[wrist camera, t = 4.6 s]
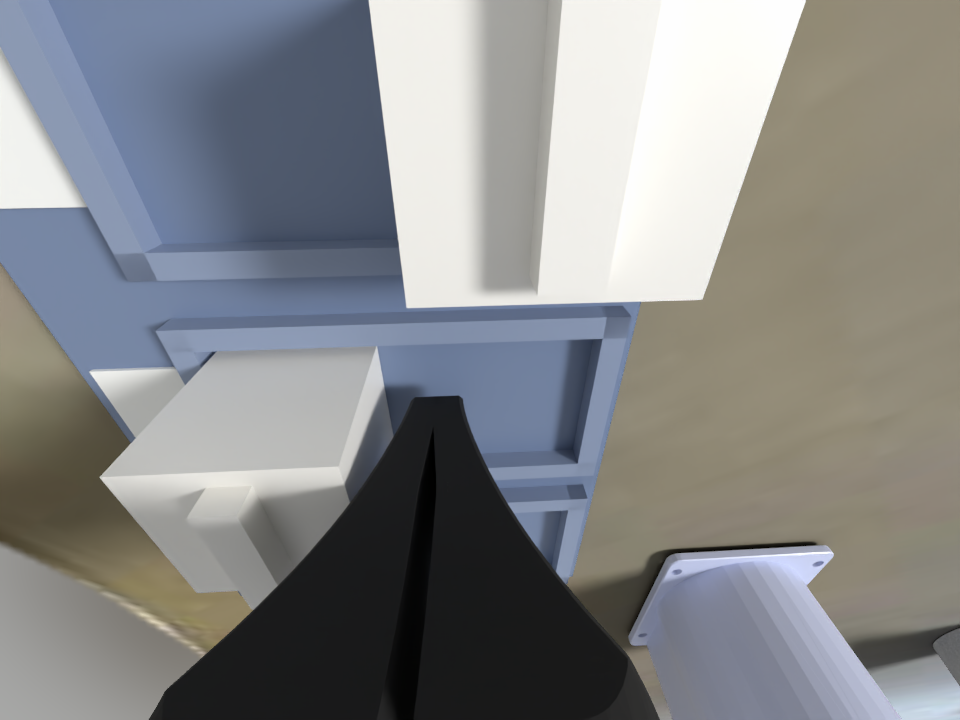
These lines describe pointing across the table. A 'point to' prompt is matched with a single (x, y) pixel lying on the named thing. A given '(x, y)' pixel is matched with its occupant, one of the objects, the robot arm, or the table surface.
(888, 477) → the table surface
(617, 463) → the table surface
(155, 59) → the blue compartment tray
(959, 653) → the house plant
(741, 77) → the white box
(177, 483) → the white block
